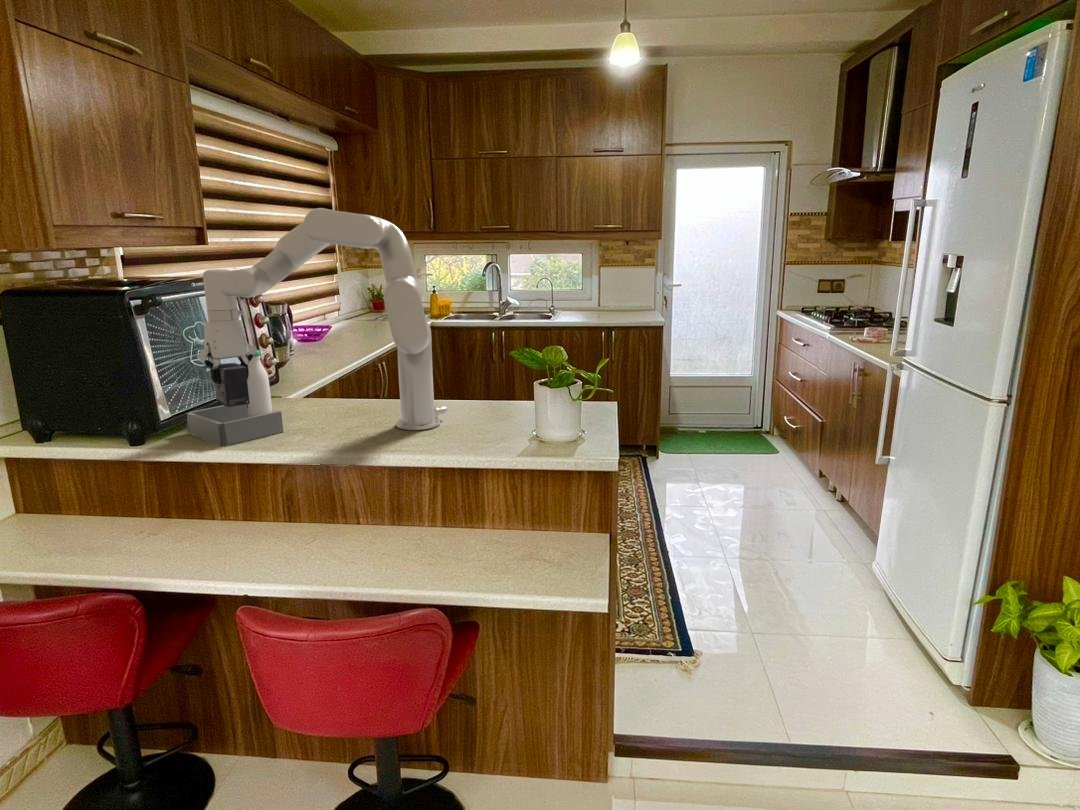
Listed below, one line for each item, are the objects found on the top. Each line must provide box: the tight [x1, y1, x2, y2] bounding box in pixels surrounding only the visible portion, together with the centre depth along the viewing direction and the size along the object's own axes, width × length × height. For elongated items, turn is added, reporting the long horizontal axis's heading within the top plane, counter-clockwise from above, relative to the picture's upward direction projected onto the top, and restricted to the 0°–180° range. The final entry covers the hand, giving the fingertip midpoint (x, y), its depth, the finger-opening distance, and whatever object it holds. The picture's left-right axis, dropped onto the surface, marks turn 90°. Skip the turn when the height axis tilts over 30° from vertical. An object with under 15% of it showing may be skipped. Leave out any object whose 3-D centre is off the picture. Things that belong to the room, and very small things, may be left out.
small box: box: [214, 362, 250, 407], centre depth 184 cm, size 11×6×10 cm, turn 40°
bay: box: [185, 404, 284, 447], centre depth 186 cm, size 17×20×6 cm
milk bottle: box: [245, 349, 273, 417], centre depth 204 cm, size 8×8×20 cm
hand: (231, 380), depth 184 cm, fingers closed on small box, 7 cm apart
